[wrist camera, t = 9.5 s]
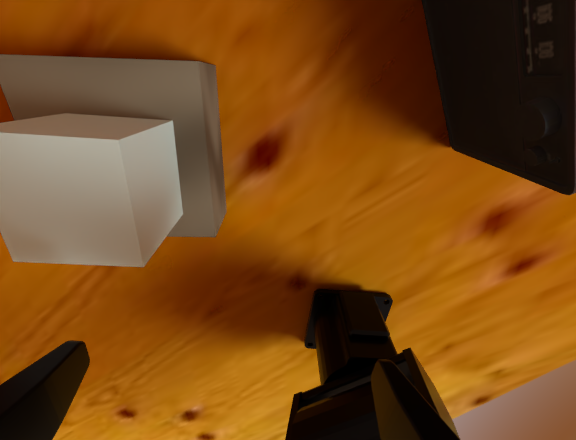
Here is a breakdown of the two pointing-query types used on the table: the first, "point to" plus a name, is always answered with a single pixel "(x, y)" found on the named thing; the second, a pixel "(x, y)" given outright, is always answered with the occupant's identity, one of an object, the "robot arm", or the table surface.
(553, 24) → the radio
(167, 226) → the cream cube
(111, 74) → the grey block
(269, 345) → the table surface
